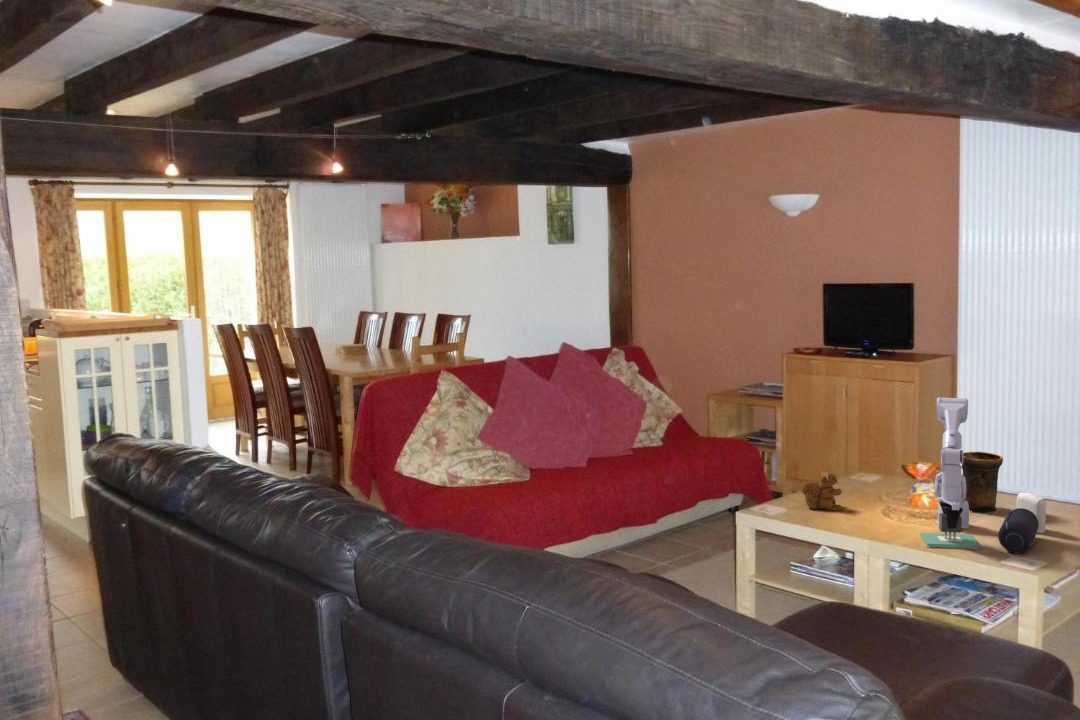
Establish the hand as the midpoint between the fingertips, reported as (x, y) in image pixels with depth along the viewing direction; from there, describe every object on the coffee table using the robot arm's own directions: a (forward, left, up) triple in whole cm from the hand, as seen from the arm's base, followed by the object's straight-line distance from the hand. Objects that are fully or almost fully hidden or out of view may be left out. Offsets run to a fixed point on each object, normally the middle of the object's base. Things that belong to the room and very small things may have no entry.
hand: (950, 526), depth 304 cm
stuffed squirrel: (+37, -39, -6) cm, 54 cm away
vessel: (-19, -43, -6) cm, 47 cm away
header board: (0, 0, -5) cm, 5 cm away
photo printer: (-29, -18, -6) cm, 35 cm away
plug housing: (0, 0, -1) cm, 1 cm away
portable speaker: (-20, 0, -6) cm, 21 cm away
